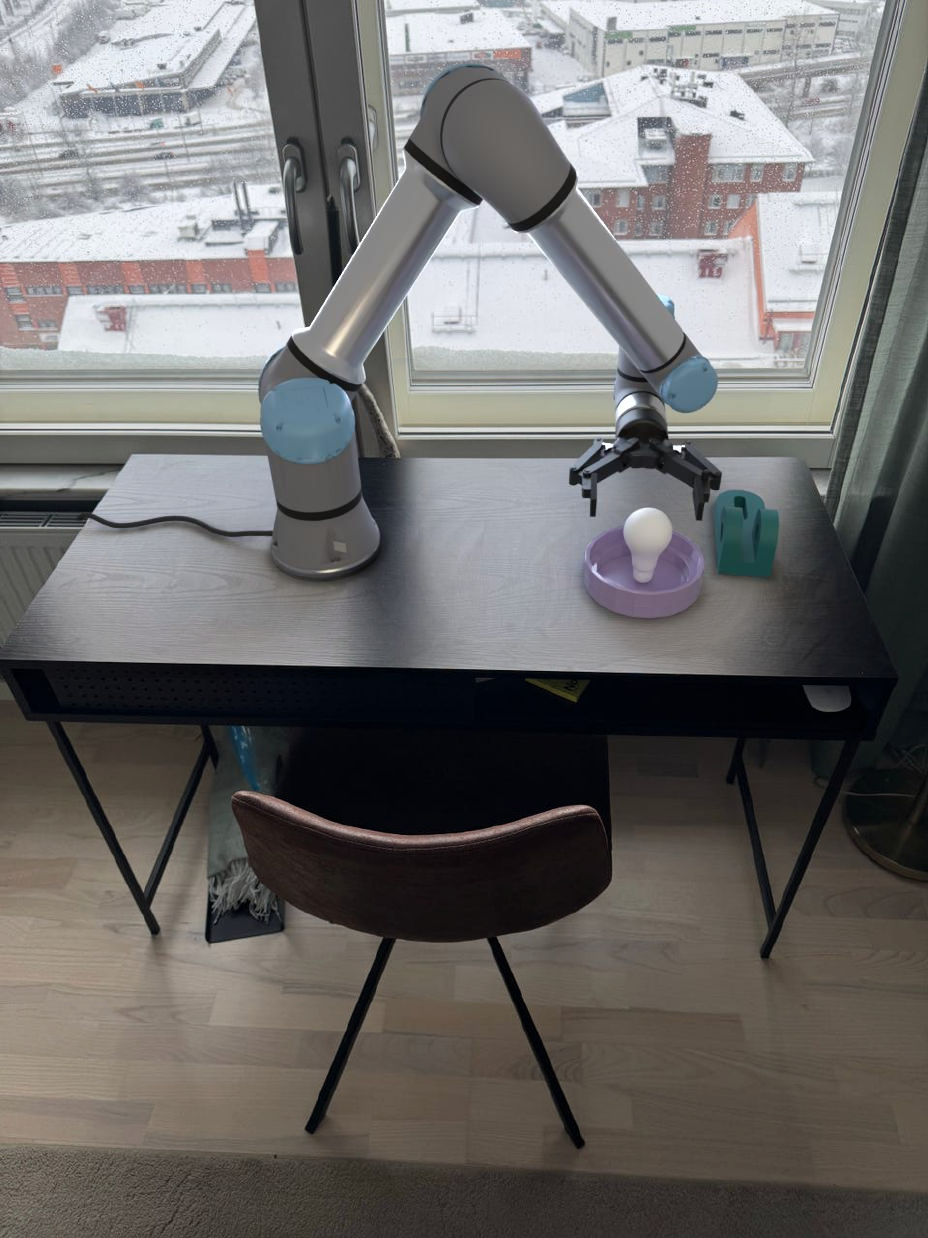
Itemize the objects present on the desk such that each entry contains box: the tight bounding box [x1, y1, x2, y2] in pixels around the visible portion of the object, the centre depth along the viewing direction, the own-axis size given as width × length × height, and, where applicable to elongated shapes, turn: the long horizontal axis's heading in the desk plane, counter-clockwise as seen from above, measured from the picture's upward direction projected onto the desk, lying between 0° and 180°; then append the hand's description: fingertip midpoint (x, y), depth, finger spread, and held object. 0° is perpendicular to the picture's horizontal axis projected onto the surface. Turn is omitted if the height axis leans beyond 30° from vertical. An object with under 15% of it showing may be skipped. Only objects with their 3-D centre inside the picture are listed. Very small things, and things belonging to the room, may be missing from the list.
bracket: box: [713, 489, 780, 579], centre depth 129 cm, size 18×7×8 cm, turn 170°
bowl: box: [583, 525, 706, 619], centre depth 122 cm, size 15×15×4 cm
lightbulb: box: [623, 507, 673, 583], centre depth 120 cm, size 6×6×11 cm
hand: (646, 510), depth 120 cm, fingers open, 13 cm apart
